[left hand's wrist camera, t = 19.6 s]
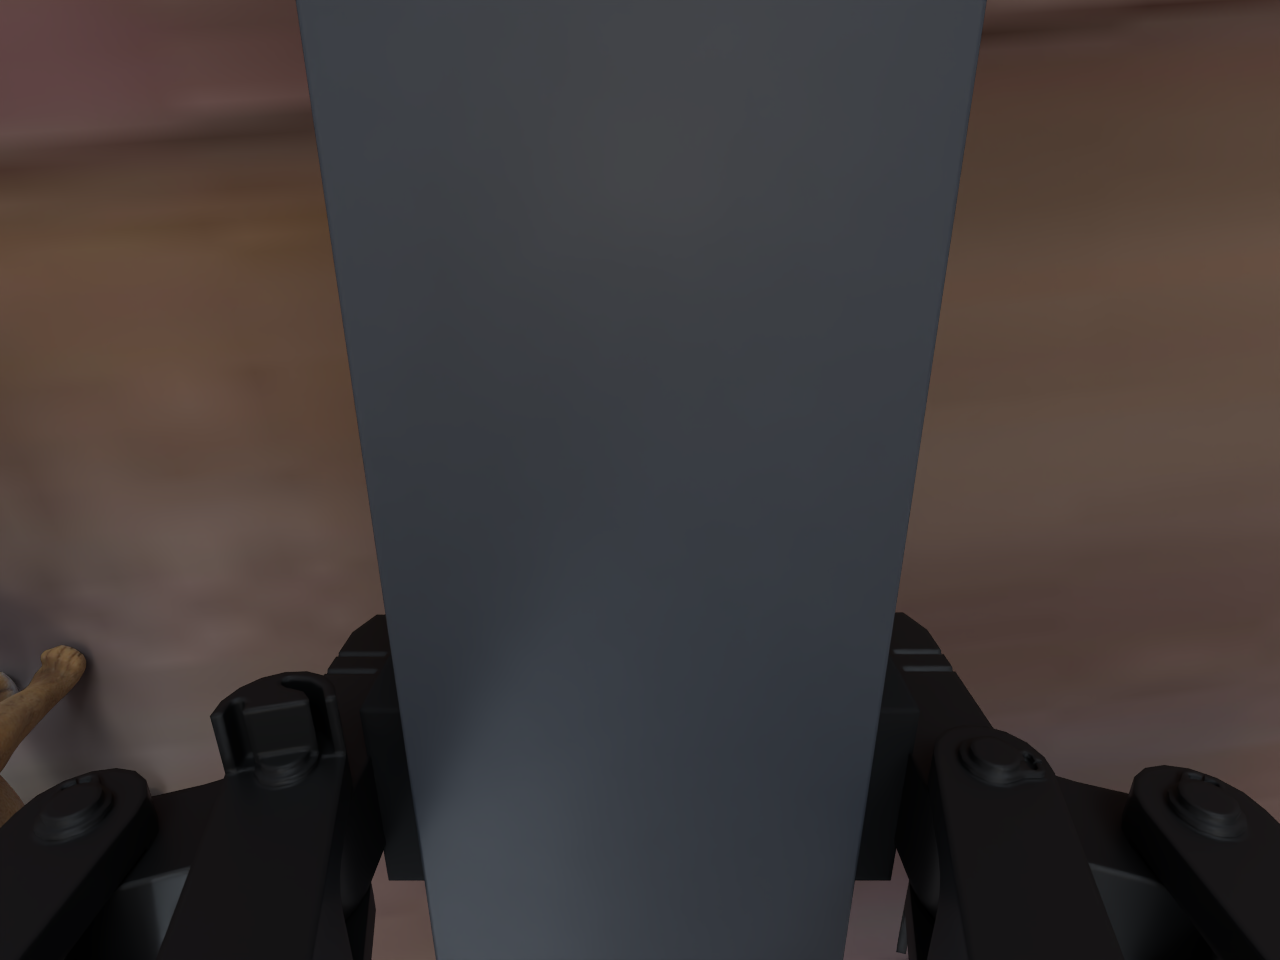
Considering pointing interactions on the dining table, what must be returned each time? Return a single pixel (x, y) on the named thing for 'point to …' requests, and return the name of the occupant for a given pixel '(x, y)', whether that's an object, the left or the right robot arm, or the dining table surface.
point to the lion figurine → (32, 709)
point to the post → (640, 438)
